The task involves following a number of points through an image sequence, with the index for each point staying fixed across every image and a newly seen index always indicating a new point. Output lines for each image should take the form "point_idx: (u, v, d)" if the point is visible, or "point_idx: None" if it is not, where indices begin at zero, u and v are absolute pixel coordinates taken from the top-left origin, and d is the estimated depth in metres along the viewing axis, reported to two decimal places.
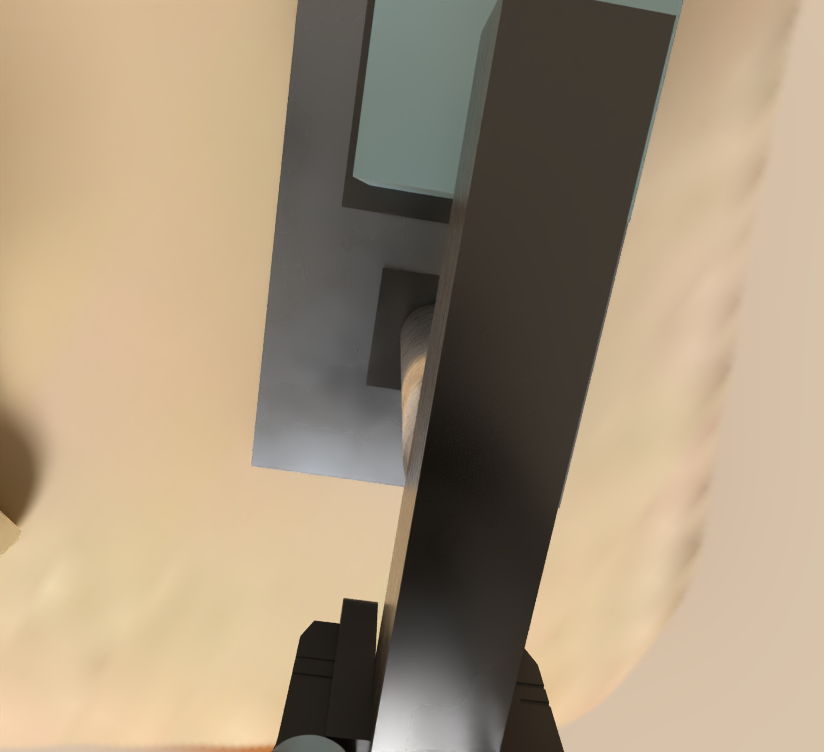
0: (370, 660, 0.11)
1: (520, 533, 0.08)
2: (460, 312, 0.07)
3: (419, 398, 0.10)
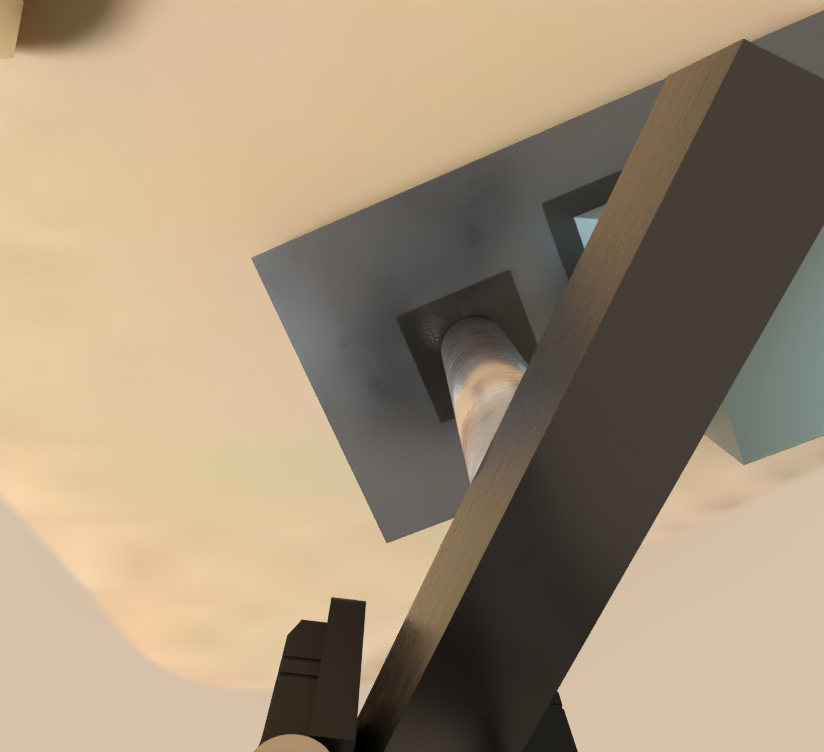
0: (356, 659, 0.11)
1: (596, 563, 0.08)
2: (605, 338, 0.07)
3: (507, 409, 0.10)
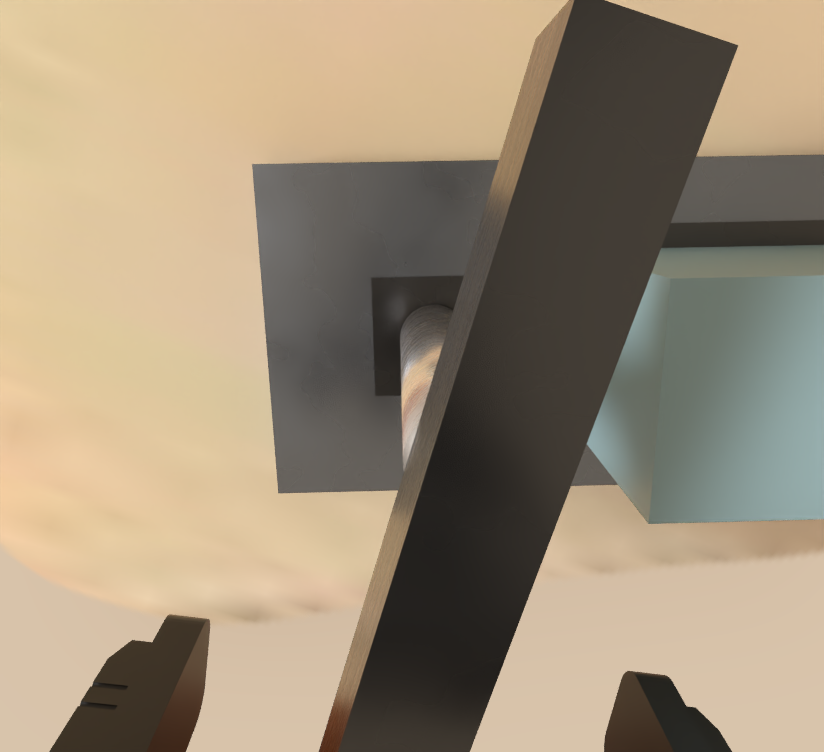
0: (169, 688, 0.10)
1: (518, 538, 0.08)
2: (489, 311, 0.07)
3: (428, 394, 0.10)
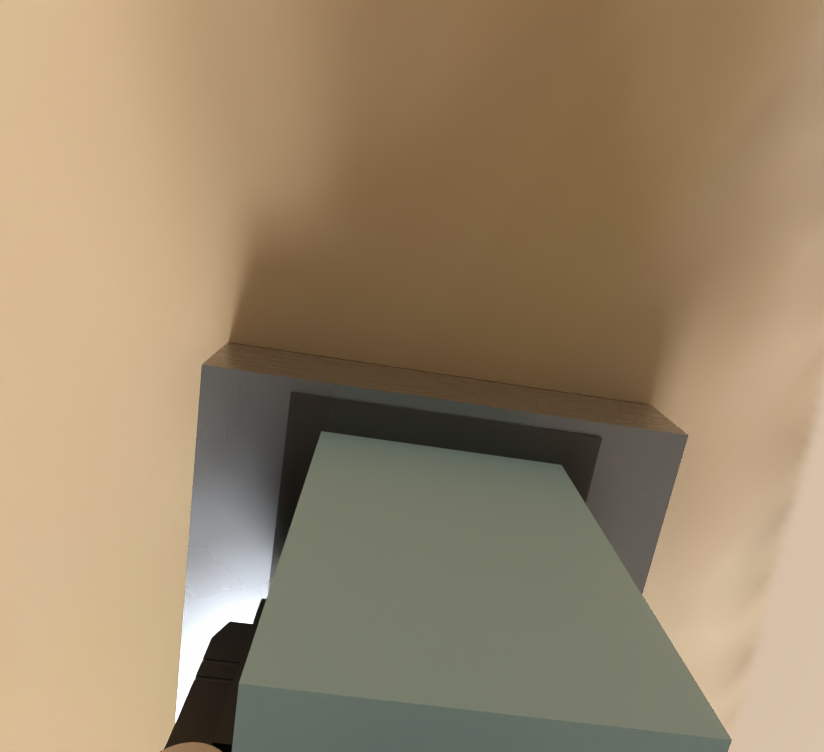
0: None
1: None
2: None
3: None
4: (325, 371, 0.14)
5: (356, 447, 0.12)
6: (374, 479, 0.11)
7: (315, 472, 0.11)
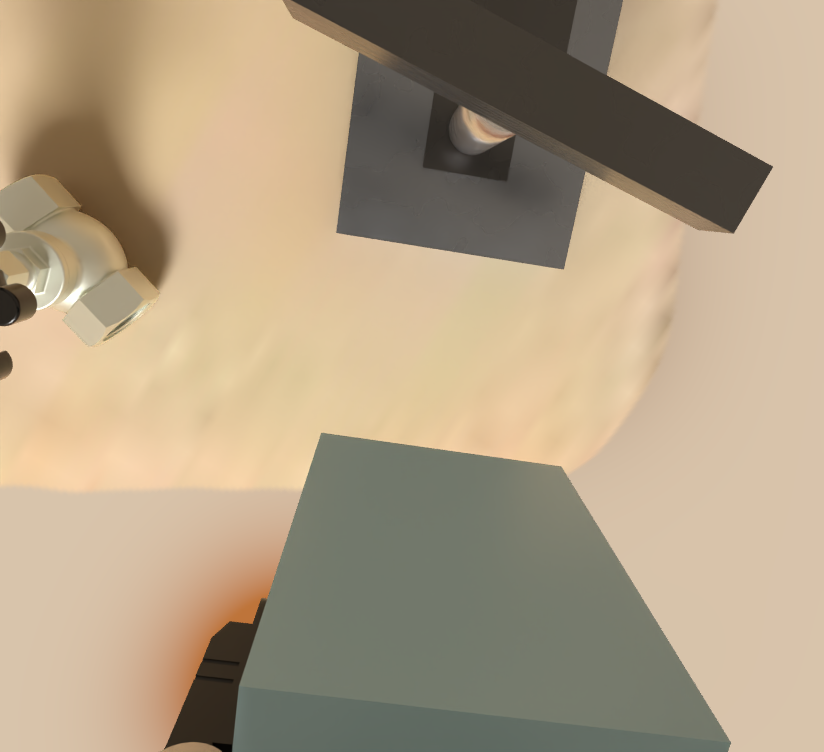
0: None
1: (540, 59, 0.15)
2: (414, 58, 0.15)
3: (467, 108, 0.17)
4: None
5: (356, 449, 0.12)
6: (373, 480, 0.11)
7: (316, 474, 0.11)
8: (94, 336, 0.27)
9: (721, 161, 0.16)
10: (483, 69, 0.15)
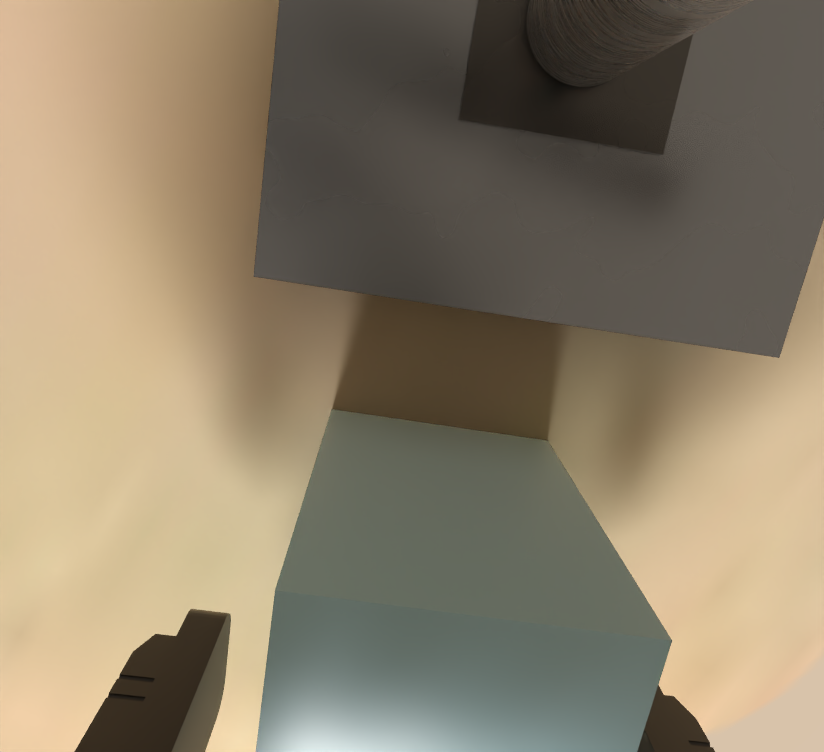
0: (195, 680, 0.10)
1: None
2: None
3: None
4: None
5: (363, 421, 0.14)
6: (380, 447, 0.13)
7: (329, 441, 0.13)
8: None
9: None
10: None
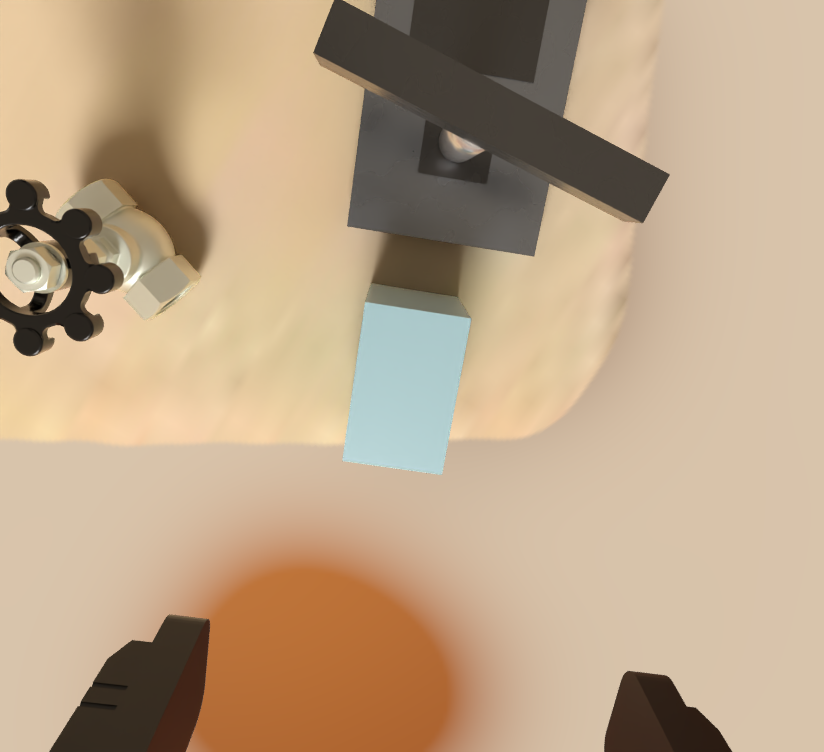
0: (169, 688, 0.10)
1: (499, 98, 0.21)
2: (409, 97, 0.21)
3: (449, 131, 0.23)
4: None
5: (384, 286, 0.36)
6: (390, 290, 0.34)
7: (372, 287, 0.34)
8: (149, 310, 0.33)
9: (632, 170, 0.22)
10: (458, 105, 0.21)
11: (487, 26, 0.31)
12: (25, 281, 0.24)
